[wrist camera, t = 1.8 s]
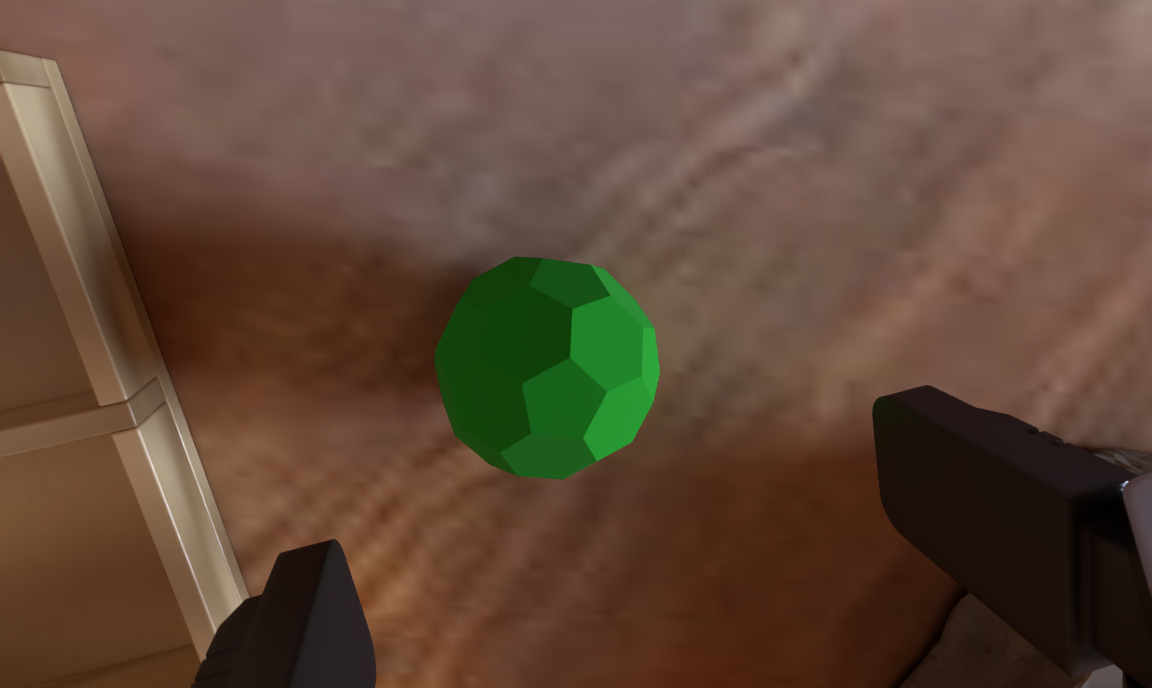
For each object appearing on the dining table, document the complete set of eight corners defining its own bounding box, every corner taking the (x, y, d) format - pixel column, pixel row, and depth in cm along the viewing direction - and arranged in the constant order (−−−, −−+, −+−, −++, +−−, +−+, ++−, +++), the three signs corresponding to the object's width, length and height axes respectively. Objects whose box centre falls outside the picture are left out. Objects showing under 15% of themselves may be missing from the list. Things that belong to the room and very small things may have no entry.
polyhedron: (494, 462, 20) (509, 557, 16) (398, 303, 19) (383, 356, 14) (660, 372, 20) (723, 441, 16) (578, 206, 19) (621, 229, 14)
